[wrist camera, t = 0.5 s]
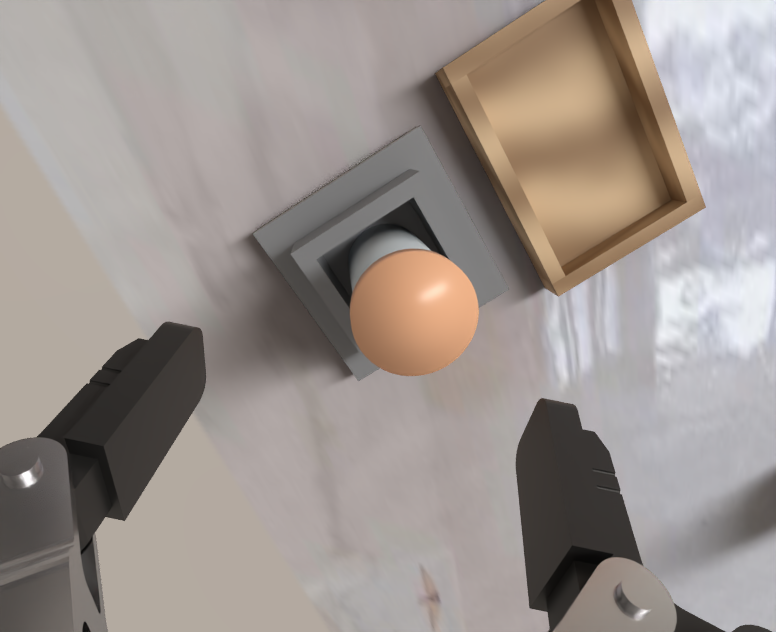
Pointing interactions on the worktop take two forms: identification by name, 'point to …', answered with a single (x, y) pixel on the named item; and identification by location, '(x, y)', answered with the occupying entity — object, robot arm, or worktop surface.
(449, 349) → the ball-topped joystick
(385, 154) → the housing
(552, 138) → the tray
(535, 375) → the worktop surface
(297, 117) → the worktop surface
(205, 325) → the worktop surface
